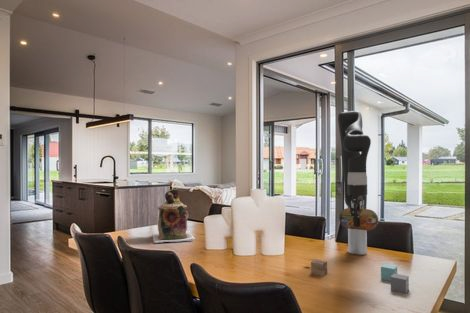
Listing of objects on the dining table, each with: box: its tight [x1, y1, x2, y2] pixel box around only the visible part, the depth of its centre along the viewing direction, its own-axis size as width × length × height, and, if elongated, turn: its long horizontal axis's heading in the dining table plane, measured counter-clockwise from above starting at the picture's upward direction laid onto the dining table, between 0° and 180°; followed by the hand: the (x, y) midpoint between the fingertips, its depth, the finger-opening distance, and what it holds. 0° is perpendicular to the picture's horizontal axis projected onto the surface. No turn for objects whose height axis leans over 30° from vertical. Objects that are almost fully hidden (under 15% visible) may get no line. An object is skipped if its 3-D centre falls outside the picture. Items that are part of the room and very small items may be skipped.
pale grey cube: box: [390, 273, 410, 295], centre depth 120 cm, size 5×5×5 cm
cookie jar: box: [152, 187, 195, 244], centre depth 208 cm, size 25×25×32 cm
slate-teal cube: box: [380, 263, 398, 282], centre depth 132 cm, size 5×5×5 cm
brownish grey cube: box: [310, 259, 328, 277], centre depth 139 cm, size 5×5×5 cm
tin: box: [338, 207, 379, 232], centre depth 134 cm, size 15×3×8 cm, turn 52°
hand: (357, 225), depth 134 cm, fingers closed on tin, 2 cm apart
